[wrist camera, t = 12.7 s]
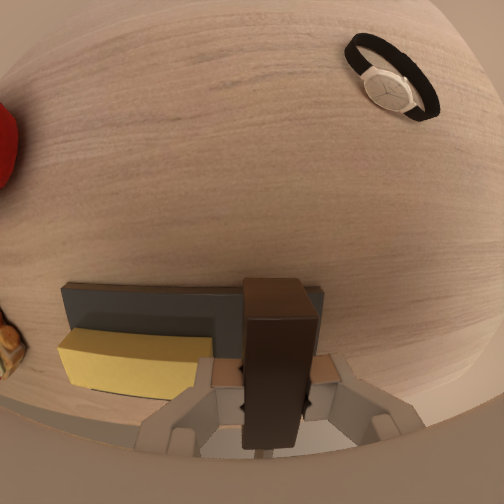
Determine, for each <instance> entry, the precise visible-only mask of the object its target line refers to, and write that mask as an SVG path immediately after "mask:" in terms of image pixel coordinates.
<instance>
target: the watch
mask: <svg viewBox="0 0 504 504" xmlns="http://www.w3.org/2000/svg"><path fill="white" fill-rule="evenodd" d="M356 45H357V46H363V47H366V48H369V49H371V50H373V51H375V52H376V53H378V54H380V55H381V56H383V57H384V58H385V59H386V60H388V61H389V62H390V63H391V64H392V65H393V66H395V67H396V68H397V69H398V70H399V71H400V72H401V73H402V75H404V76H405V77H403V78H401V77H399V76H398V75H396V74H394V73H393V72H391V71H386V70H382V69H377V68H376V67H375V66H374V65H372V64H370V63H369V62H368V61H367V60H366V59H365V58H364V57H363V55H362V54H361V53H360V52H359V50H358V49H357V47H356ZM344 53H345V57H346V60H347V62H348V63H349V64H350V66H351V67H352V68H353V69H354V71H355V72H356V73H357V74H359V75H360V77H359V78H361V79H363V80H364V87H365V91H366V92H367V94H368V96H369V97H370V98H371V99H372V100H373V101H374V102H375V103H376V104H377V105H379V106H381V107H383V108H385V109H388V110H392V111H395V112H396V111H399V112H400V113H404V114H405V115H406V116H408V117H409V118H410V119H412V120H415V121H418V122H420V121H424V120H428V119H431V118H434V117H437V116H438V115H439V113H440V103H439V99H438V96H437V94H436V92H435V90H434V88H433V86H432V85H431V83H430V82H429V80H428V79H427V77H426V76H425V75H424V74H423V72H422V71H421V70H420V69H419V67H418V66H417V65H416V63H414V62H413V61H412V60H411V59H410V58H409V57H408V56H407V55H406V54H404V53H402V52H400V51H399V50H398V49H397V48H396V47H394V46H393V45H392V44H390V43H388V42H387V41H385V40H384V39H382V38H379V37H377V36H375V35H372V34H367V33H359V34H356V35H355V36H354V37H353V38H352V40H351V41H350V43H349V44H348V45H347V47H346V48H345V51H344ZM407 78H408V80H409V81H410V82H411V83H412V84H413V86H414V87H415V88H416V90H417V91H418V93H419V94H420V96H421V98H422V101H423V103H424V107H425V112H424V111H423V110H422V109H420V108H419V107H418V106H417V104H416V103H415V102H414V101H413V97H412V91H411V89H410V87H409V85H408V84H407V83H406V81H407Z"/></svg>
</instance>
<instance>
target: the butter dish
mask: <svg viewBox="0 0 504 504" xmlns="http://www.w3.org/2000/svg"><path fill="white" fill-rule="evenodd" d="M303 288H304V289H305V291H306V293H307V295H308V297H309V298H310V300H311V302H312V304H313V306H314V308H315V309H316V311H317V313H318V315H319V325H318V331H317V338H316V344H315V350H314V356H316V350H317V344H318V337H319V330H320V323H321V316H322V308H323V300H324V292H323V290H322V289H321V287H319V286H316V287H303ZM61 293H62V297H63V302H64V306H65V310H66V314H67V318H68V322H69V325H70V329H71V331H72V330H73V329H74V328H82V329H91V330H99V331H109V332H119V333H130V334H143V335H159V336H179V337H211V338H212V347H213V357H214V358H215V357H218V358H242V311H243V287H239V288H234V287H158V286H126V285H102V284H82V283H67V284H65V285H64V286H63V287H62V288H61ZM91 390H95V391H101V390H96V389H91ZM101 392H106V393H112V394H118V395H124V396H131V397H139V398H147V399H156V400H166V401H171V400H168V399H158V398H148V397H140V396H132V395H125V394H119V393H113V392H107V391H101Z"/></svg>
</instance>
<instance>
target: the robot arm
mask: <svg viewBox="0 0 504 504" xmlns="http://www.w3.org/2000/svg"><path fill="white" fill-rule="evenodd" d="M302 415H303V419H304V421H316V420H326V419H328V421H329V422H330V423H332V424H333V425H334V426H335V427H336V428H337V429H338V430H340V431H341V432H342V433H343V434H344V435H346V436H347V437H348V438H349V439H350V440H352V441H353V442H354V443H355V444H356V445H358V446H357V447H353V448H347V449H342V450H336V451H331V452H324V453H317V454H309V455H301V456H291V457H278V458H259V459H217V458H201V454H200V448H201V447H202V446H203V445H204V444H205V443H206V441H207V440H208V439H209V438H210V437H211V435H212V434H213V433H214V432H215V431H216V430H217V428H218V427H219V425H244V376H243V358H218V357H215V358H214V357H200V358H199V360H198V365H197V370H196V375H195V381H194V386H193V387H188V388H187V389H186V390H184V391H183V392H182V393H180V394H179V395H178V396H176V397H175V398H174V399H172V400H171V401H170V402H168V403H167V404H166V405H164V406H163V407H162V408H160V409H159V410H158V411H156V412H155V413H154V414H152V415H151V416H149V417H148V418H147V419H145V420H144V421H142V423H141V426H140V429H139V432H138V435H137V439H136V441H135V444H134V448H133V449H129V448H124V447H118V446H114V445H110V444H106V443H102V442H98V441H94V440H90V439H86V438H83V437H80V436H76V435H73V434H70V433H67V432H64V431H61V430H58V429H55V428H52V427H49V426H46V425H44V424H41V423H38V422H36V421H34V420H31V419H29V418H26V417H24V416H22V415H19V414H17V413H15V412H13V411H11V410H9V409H6V408H4V407H2V406H0V504H504V393H502V394H500V395H498V396H496V397H494V398H493V399H491V400H489V401H487V402H485V403H483V404H481V405H479V406H476V407H474V408H472V409H470V410H468V411H466V412H463V413H461V414H459V415H457V416H454V417H452V418H449V419H447V420H444V421H442V422H439V423H437V424H434V425H431V426H428V427H426V426H425V424H424V423H423V421H422V420H421V418H420V417H419V415H418V414H417V412H416V410H415V409H414V407H413V406H412V405H410V404H408V403H406V402H404V401H402V400H400V399H398V398H396V397H394V396H392V395H390V394H388V393H386V392H384V391H383V390H381V389H379V388H377V387H375V386H373V385H371V384H369V383H367V382H366V381H364V380H362V379H358V380H357V378H356V376H355V375H354V373H353V371H352V369H351V367H350V365H349V363H348V362H347V360H346V358H345V356H344V354H343V353H333V354H328V355H316V356H313V361H312V367H311V372H310V376H309V378H308V383H307V389H306V397H305V400H304V405H303V411H302Z"/></svg>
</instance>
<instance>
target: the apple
mask: <svg viewBox="0 0 504 504" xmlns="http://www.w3.org/2000/svg"><path fill="white" fill-rule="evenodd" d="M18 135H19V134H18V129H17V124H16V119H15V118H14V117H13V116H12V115H11V114H10V113H9V111H8V110H7V109H6V108H5V107H4V106H3V105H2V104H1V103H0V189H2V188H3V187H4V186H5V185H6V183H7V181H8V179H9V177H10V176H11V174H12V172H13V169H14V164H15V160H16V155H17V148H18Z"/></svg>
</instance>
